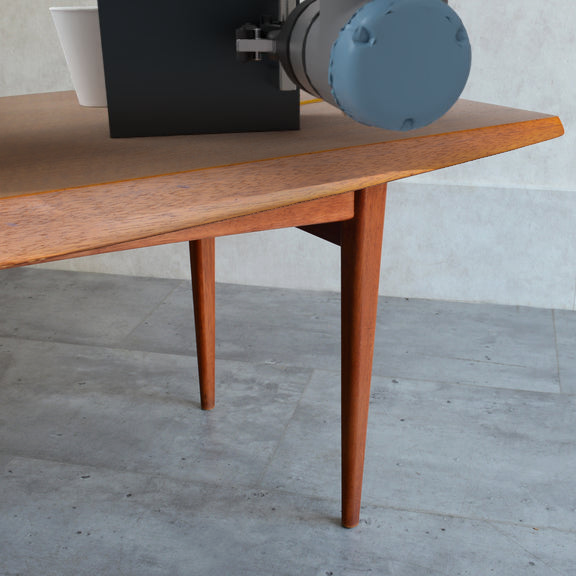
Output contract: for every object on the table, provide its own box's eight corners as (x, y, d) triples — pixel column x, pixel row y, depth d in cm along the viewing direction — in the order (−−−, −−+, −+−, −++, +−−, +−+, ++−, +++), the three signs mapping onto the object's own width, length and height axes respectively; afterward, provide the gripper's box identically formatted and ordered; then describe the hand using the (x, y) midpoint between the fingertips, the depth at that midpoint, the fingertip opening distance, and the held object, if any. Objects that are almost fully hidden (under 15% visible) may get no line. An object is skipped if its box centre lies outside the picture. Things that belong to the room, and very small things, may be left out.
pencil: (349, 98, 105) (349, 93, 105) (289, 109, 96) (289, 104, 95) (344, 98, 106) (344, 93, 105) (284, 109, 96) (284, 103, 96)
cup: (68, 98, 106) (58, 6, 101) (152, 96, 107) (145, 5, 102) (52, 110, 95) (39, 7, 90) (145, 108, 96) (137, 6, 91)
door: (313, 139, 74) (314, -79, 67) (109, 149, 70) (87, -82, 63) (298, 128, 80) (297, -73, 73) (110, 136, 76) (90, -75, 69)
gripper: (236, 105, 53) (204, 74, 75) (432, 98, 56) (347, 70, 78) (233, -6, 51) (200, -6, 72) (439, -8, 53) (349, -7, 75)
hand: (276, 34), depth 75 cm, fingers open, 2 cm apart
